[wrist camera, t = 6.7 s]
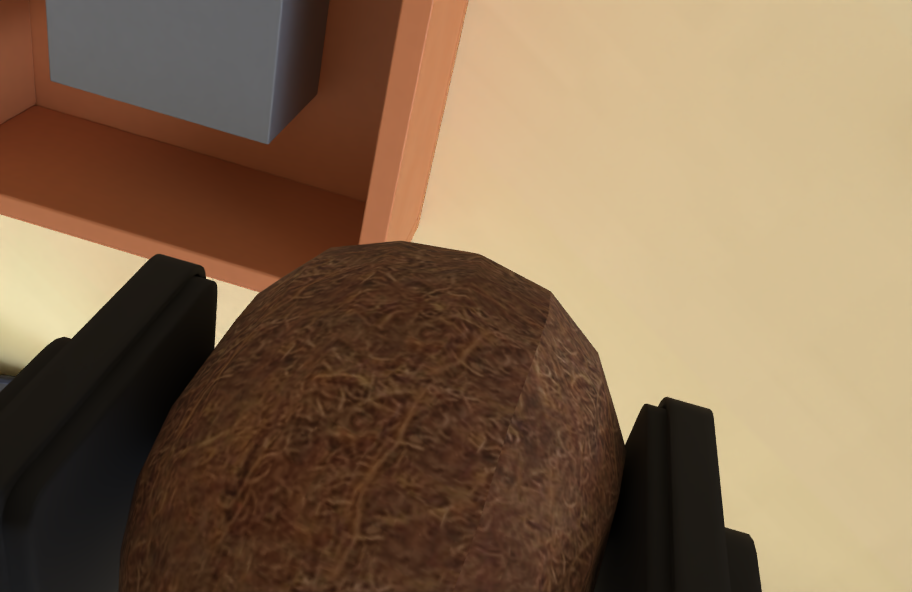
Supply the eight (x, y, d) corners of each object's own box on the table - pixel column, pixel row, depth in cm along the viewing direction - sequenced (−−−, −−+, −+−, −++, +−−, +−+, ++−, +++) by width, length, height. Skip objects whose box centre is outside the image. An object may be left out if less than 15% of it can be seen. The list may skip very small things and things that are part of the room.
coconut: (317, 422, 15) (51, 966, 8) (261, 147, 12) (-204, 626, 5) (624, 444, 14) (604, 1086, 7) (637, 149, 11) (625, 739, 4)
